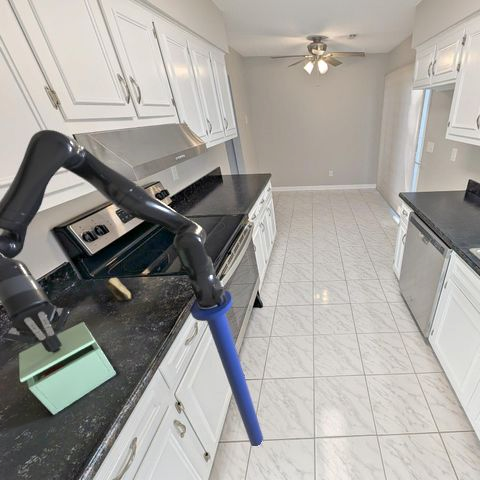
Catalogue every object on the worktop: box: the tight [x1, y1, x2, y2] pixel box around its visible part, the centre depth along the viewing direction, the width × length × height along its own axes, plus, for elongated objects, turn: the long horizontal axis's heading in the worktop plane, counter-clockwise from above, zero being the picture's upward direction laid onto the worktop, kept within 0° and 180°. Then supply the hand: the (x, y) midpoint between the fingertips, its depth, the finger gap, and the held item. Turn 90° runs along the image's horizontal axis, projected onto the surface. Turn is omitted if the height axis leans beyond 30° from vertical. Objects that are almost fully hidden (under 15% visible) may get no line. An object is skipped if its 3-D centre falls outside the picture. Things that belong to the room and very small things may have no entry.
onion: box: [40, 364, 67, 380], centre depth 70 cm, size 6×6×8 cm
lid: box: [18, 321, 95, 383], centre depth 69 cm, size 17×14×1 cm
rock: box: [104, 276, 132, 301], centre depth 109 cm, size 11×9×10 cm
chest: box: [26, 327, 117, 416], centre depth 72 cm, size 16×14×11 cm
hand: (56, 350), depth 66 cm, fingers closed
